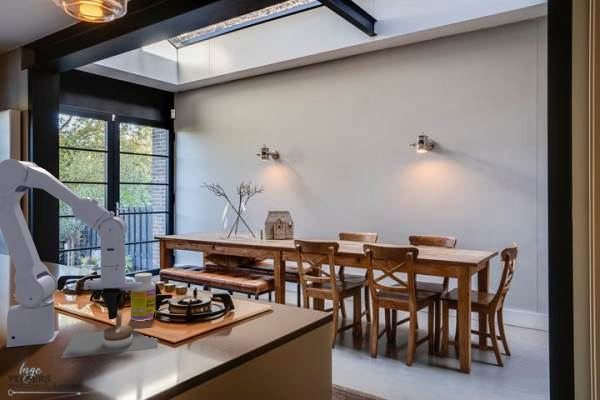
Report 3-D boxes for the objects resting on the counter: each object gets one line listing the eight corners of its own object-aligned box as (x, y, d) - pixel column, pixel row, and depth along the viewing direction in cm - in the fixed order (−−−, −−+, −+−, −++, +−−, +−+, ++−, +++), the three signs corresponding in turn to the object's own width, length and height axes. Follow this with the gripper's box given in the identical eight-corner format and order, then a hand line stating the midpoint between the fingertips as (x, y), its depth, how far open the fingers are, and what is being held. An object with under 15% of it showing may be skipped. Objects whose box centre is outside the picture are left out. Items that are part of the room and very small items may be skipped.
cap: (131, 338, 99) (131, 322, 99) (103, 341, 97) (103, 325, 96) (131, 323, 110) (131, 309, 109) (106, 326, 107) (106, 311, 107)
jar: (101, 349, 96) (101, 342, 96) (105, 339, 102) (105, 333, 102) (131, 346, 98) (131, 339, 98) (133, 337, 105) (133, 330, 104)
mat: (60, 359, 91) (60, 358, 91) (74, 335, 106) (74, 334, 106) (157, 349, 98) (157, 347, 98) (157, 327, 113) (157, 326, 113)
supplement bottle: (147, 323, 116) (147, 277, 116) (125, 321, 117) (125, 276, 117) (160, 316, 123) (160, 272, 122) (139, 314, 124) (139, 271, 124)
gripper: (147, 262, 109) (147, 314, 110) (95, 261, 111) (95, 312, 111) (134, 267, 102) (134, 323, 103) (78, 266, 104) (78, 320, 104)
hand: (113, 318), depth 107 cm, fingers closed, pressing on cap
